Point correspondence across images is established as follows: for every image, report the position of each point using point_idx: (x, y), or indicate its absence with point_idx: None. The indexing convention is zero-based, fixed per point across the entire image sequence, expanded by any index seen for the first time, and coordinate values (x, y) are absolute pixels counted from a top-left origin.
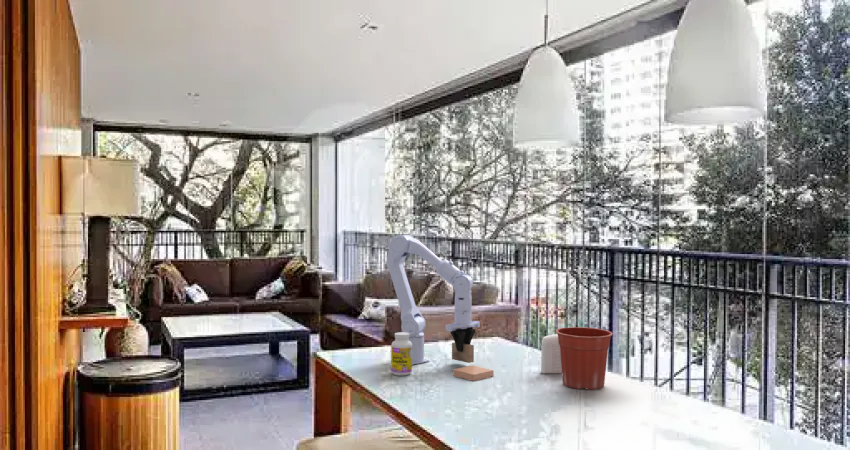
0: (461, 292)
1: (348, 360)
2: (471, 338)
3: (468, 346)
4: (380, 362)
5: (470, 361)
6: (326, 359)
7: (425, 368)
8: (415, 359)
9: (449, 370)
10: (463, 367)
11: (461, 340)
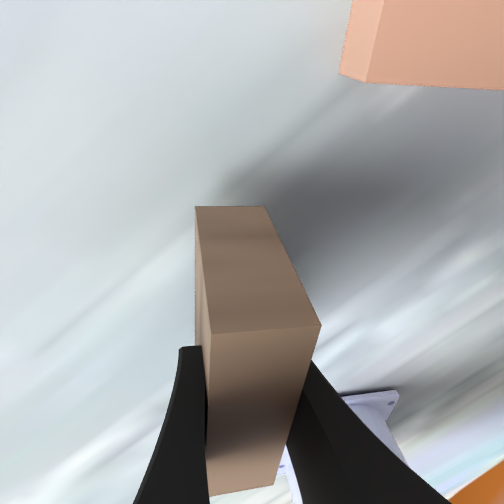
0: None
1: (434, 481)
2: (157, 492)
3: (319, 324)
4: (413, 447)
5: (243, 211)
6: (449, 497)
7: (428, 322)
8: (375, 417)
9: (409, 218)
10: (501, 79)
11: (381, 447)
